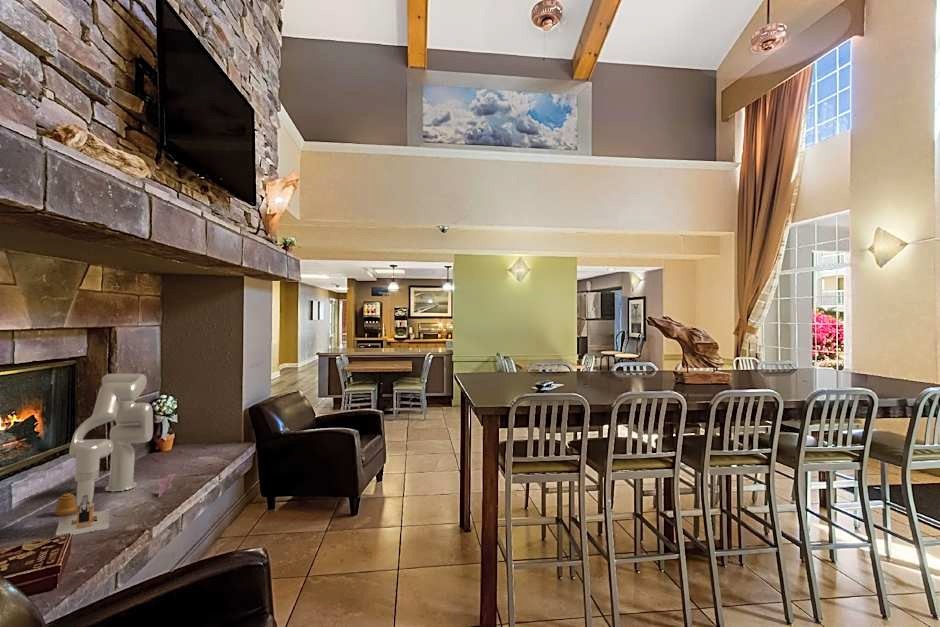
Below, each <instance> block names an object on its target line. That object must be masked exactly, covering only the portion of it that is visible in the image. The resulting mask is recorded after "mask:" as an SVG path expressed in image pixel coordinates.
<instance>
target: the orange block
mask: <svg viewBox="0 0 940 627" xmlns="http://www.w3.org/2000/svg"><path fill="white" fill-rule="evenodd" d="M94 504H95V502H92V503H91V504H89V511H90V514H89V521H87V522H81V523H79V512H80V506H78V507H77V510H76V515H77V522H76V524H75V525H77V524H83V523H89V522H94V521H93V512H94V506H95V505H94Z"/></svg>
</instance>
